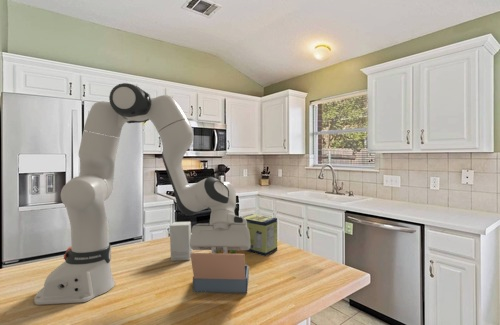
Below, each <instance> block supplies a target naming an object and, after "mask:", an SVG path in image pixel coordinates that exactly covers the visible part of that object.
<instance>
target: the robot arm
mask: <svg viewBox="0 0 500 325" xmlns="http://www.w3.org/2000/svg"><path fill="white" fill-rule="evenodd" d="M108 98H109V99H108V100H109V101H97V102H95V103H94V104H92V106H91V107H90V110H89V111H88V114H87V116H86V117H87V118H86V120H85V122H84V127H83V131H82V135H81V140H80V146H79V148H78V149H79V150H78V157H79V175H78V176H75V177H72V178H71V179H70V180H68V181H67V182H66V183H65V185H63V187H62V189H61V192H60V200H61V203H62V204H63V205H64V206H65V207H66V211H67V212H66V213H67V216H68V220H69V225H70V234H71V235H70V237H71V240H70V242H71V246H69V247H68V248H67V249H66V251H65V252H64V255H63V260H64V262H62V263H61V264H60V265H59V266H57V267H56V268H54V270H52V271H51V272H50V273H49V274H48V275H47V277H46V278H45V280H44V283H43V287H42V288H41V289H40V290H39V291H38V292H37V293H36V294H35V296H34V299H33V300H34V301H33V303H34V304H35V305H37V306H38V305H41V306H42V305H57V304H59V305H60V304H73V303H74V304H75V303H85V302H88V301H91V300H92V299H94V298H96V297H98V296H100V295H103V294H105V293H107V292H109V291H110V290H111V289H113V288H114V287H115V284H116V283H115V280H114V276H113V273H112V267H111V261H112V260H111V259H112V248H111V243H110V233H109V232H110V229H109V228H110V225H109V220H108V218H107V212H106V208H105V202H106V201H107V200H108V199H109V198H110V196H112V193H113V190H114V179H115V178H114V177H115V164H116V163H115V162H116V158H117V153H118V148H119V142H120V138H121V133H122V130H123V127H124V125H125V124H126V123H127V124H137V123H145V122H148V121H151V122H152V124H153V125H154V126H153V127H155V129H156V131H157V134H158V135H159V138H160V140H161V145H162V146H161V147H162V152H161V158H162V161H163V162H162V163H163V165H164V168H165V171H166V173H167V176H168V179H169V182H170V185H171V186H172V190H173V193H174V196H175V203H176V206H177V208H178V210H179V211H180V212H182V213H183V214H184V215H186V216H194V215H197V214H198V213H200V212H201V211H203V210H205V209H210V210H211V212H210V216H209V217H210V218H209V222H205V223H204V222H203V223H201V222H198V223H196V224H194V225H192V226H191V238H190V242H189V244H190V247H191V248H192V251H211V253H216V251H217V250H223V254H227V253H228V250H238V251H244V250H249V249H250V247H251V244H250V233H249V229H248V227H247V221H246V219H245V218H243V217H244V216H238V215H236V213H235V210H236V207H237V196H236V195H237V194H236V189H235V186H234V185H233V184H232V183H231V182H228V181H227V180H226V181H223V180H222V181H220V179H217V178H215V177H213V176H208V177H206V178H204V179H202V180H200V181H198V182H196V183H195V184H192V185H189V181H188V179H187V176H186V174H185V171H184V169H183V158H184V157H185V154H186V153H187V151H188V150H189V149H190V147H191V145H192V144H193V141H194V130H193V127H192V125H191V123H190V122H189V119H188V118H187V115H186V114H185V112H184V110H183V109H182V108H181V106H180V104H178V102H177V101H176V100H175V98H173V97H172V96H171V95H168V94H167V95H166V94H164V95H163V94H162V95H159V96H156V97H151V94H150V93H148V92H146V91H145V90H143V89H142V88H141V87H139V86H137V85H136V84H133V83H132V84H131V83H130V82H129V83H128V82H126V83H125V82H123V83H119V84H117V85H115V86H114V87H112V89H111V90H110V92H109V97H108Z"/></svg>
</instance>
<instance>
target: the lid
mask: <svg viewBox="0 0 500 325" xmlns="http://www.w3.org/2000/svg"><path fill="white" fill-rule="evenodd" d="M190 256H191V258H190V263H191V267H192V274H193V276H194V279H245V265H246V262H245V261H246V260H245V258H246V257H245V253H236V254H222V253H212V252H211V253H210V252H202V253H201V252H192V253H190Z"/></svg>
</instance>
